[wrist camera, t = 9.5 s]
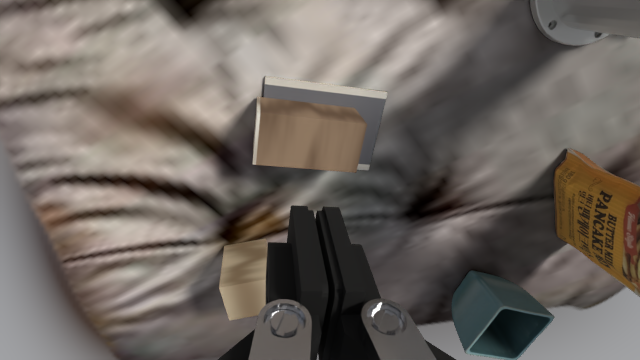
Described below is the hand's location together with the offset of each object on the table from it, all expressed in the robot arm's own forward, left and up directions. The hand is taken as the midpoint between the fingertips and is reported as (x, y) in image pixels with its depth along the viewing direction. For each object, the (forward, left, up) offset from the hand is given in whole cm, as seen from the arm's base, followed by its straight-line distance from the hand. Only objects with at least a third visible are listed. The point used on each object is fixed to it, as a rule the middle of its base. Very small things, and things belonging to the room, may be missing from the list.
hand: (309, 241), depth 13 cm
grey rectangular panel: (-5, +5, -26) cm, 27 cm away
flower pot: (-32, +27, -26) cm, 49 cm away
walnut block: (+2, +5, -23) cm, 24 cm away
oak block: (+1, +23, -26) cm, 34 cm away
